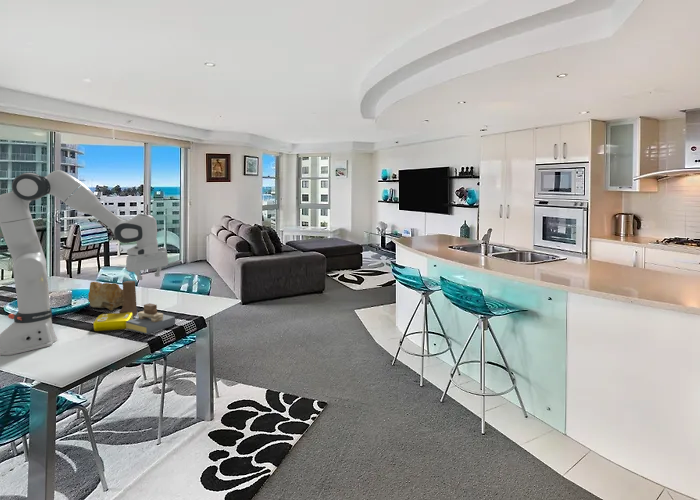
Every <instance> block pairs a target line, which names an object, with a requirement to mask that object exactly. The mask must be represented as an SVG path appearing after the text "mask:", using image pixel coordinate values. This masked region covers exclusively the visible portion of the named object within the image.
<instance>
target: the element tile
mask: <svg viewBox="0 0 700 500" xmlns="http://www.w3.org/2000/svg"><path fill="white" fill-rule="evenodd" d="M132 319H134V316H133V314H132V313H131V312H127V313H119V312H116V313H115V312H112V313H102V314H100V315H98V316H97V317H96V319H94V321H93V331H94V332H103V331H113V330H114V331H115V330H117V331H118V330H128V329H127V328H126V321H128V320H132Z"/></svg>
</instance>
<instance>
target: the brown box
mask: <svg viewBox="0 0 700 500" xmlns="http://www.w3.org/2000/svg"><path fill="white" fill-rule="evenodd" d="M143 311H144V313H146V314H151V315H152V314H155V313H157V312H158V305H157V304H154V303H146V304H143Z"/></svg>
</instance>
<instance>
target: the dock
mask: <svg viewBox="0 0 700 500" xmlns="http://www.w3.org/2000/svg"><path fill="white" fill-rule="evenodd" d="M162 314H163V320H161V321H157V322H152V321H151V318H145V319H139V317H135V318H133V319H132V320H128V321H126V328H127V329H126V330H128V331H131V332H135V331H136V332H135V333H139V332H140V334H143V333H144V334H145V335H149V334H152V333H155V331H156V332H158V330H159V331H162V330H164V329H167V328H171V327H173V325H174V326H176V316H173V315H167V314H164V313H162ZM161 329H162V330H161Z"/></svg>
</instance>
